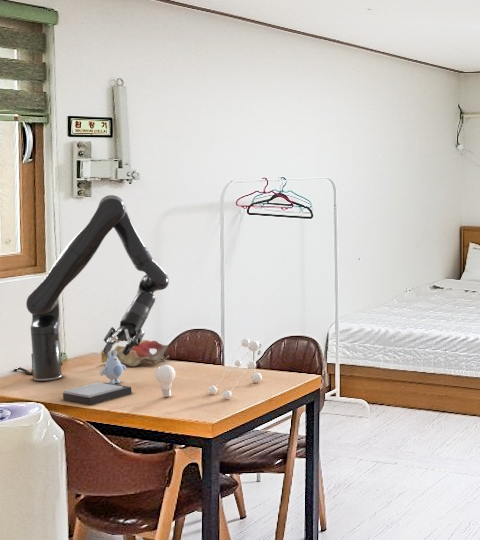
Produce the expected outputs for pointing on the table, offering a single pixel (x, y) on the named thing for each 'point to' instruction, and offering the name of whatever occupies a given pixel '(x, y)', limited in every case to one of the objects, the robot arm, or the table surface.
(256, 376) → the molecule model
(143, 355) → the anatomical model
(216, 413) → the table surface
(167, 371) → the lightbulb
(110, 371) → the toy figure
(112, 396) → the scale
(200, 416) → the table surface
